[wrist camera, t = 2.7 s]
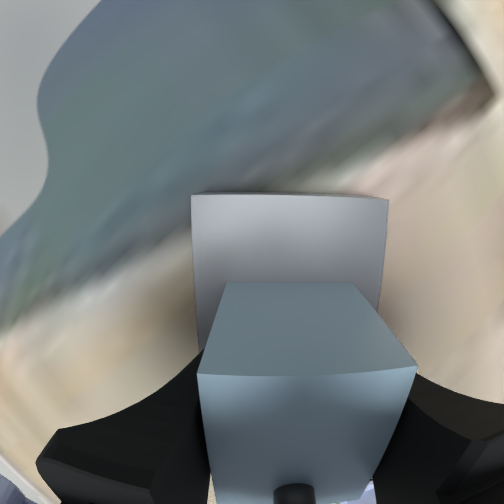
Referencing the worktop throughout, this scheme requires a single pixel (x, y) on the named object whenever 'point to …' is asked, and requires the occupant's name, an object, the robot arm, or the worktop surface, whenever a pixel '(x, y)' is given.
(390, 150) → the worktop surface
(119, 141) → the worktop surface
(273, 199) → the grey control panel
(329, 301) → the block
